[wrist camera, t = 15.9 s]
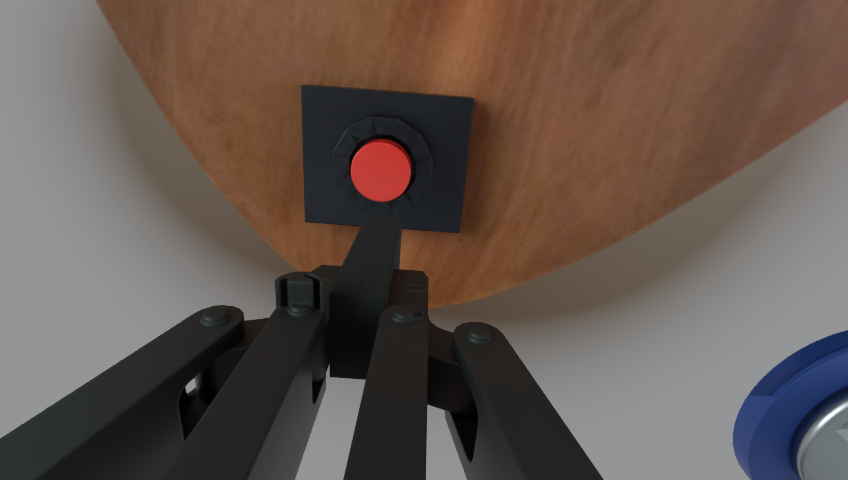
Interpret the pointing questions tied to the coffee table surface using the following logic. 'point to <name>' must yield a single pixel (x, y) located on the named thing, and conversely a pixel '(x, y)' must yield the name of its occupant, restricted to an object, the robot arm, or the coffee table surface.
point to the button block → (395, 120)
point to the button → (381, 170)
